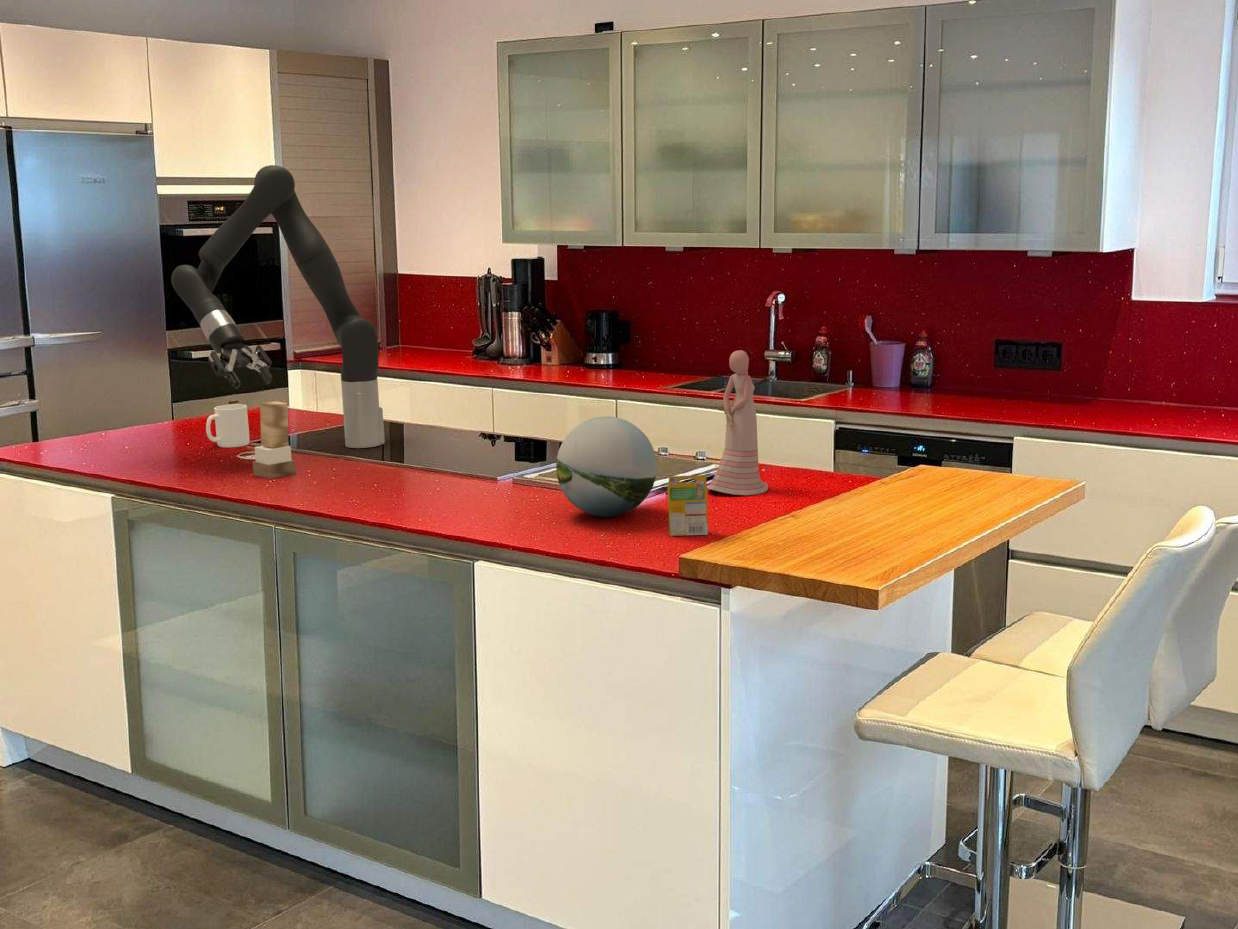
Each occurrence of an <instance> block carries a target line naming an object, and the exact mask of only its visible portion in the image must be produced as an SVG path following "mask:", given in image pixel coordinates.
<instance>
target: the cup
mask: <svg viewBox="0 0 1238 929" xmlns="http://www.w3.org/2000/svg"><path fill="white" fill-rule="evenodd" d="M213 411H214V412H213V413H214V414H211V415H209V416H208V417H207V420H206V424H205V431H206V436H207V438H208V439H209V441H211V442H214V443H217V446H218V447H220V448H227V449H228V448H230V449H231V448H240V447H246V446H248V445H249V444H250V442H251V441H250V431H249V419H248V418H249V417H248V406H247V405H246V404H238V403H237V404H235V403H234V404H224V405H217V406H215V407H214V408H213ZM213 420H214V424H215V433H216V435H215V436H213V435H212V432H211V424H212V421H213Z"/></svg>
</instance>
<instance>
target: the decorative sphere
mask: <svg viewBox="0 0 1238 929" xmlns="http://www.w3.org/2000/svg"><path fill="white" fill-rule="evenodd" d="M657 463H658V462H657V457H656V452H655V450H654V447H653V445H652V443H651V441H650V439H649V438H648V437H647V435H646V434H645V433H644V432H643V431H642V430H641V429H640V428H639V427H637V425H635V424H634V423H632V422H630V421H628V420H626V419H623V418H620V417H616V416H598V417H593V418H590V419H588V420H585V421H583V422H581V423H579V424H578V425H577V426H575V427H574V428H573V429H571V431H569V433H567V435H566V436H565V438H564V439H563V440H562V442H561V445H560V447H559V449H558V452H557V457H556V462H555V464H556V465H555V467H556V470H555V471H556V478H557V482H558V484H559V488H560V489H561V491H562V493H563V494H564V497H566V499H567V500H568V501H569V502H570V503H571V504H572V505H573V506H574V507H576V508H577V509H578V510H580V511H581V512H584V513H585V514H588V515H592V516H595V517H600V518H612V517H613V518H614V517H619V516H623V515H625V514H628V513H630V512H632V511H633V510H635V509H636V508H637V507H639V506H640V505H641V504H642V503H643V502H644V501H645V500H646V499H647V497H648V496H649V494H650V493H651V491H652V489H653V487H654V483H655V482H656V477H657V470H658V464H657Z"/></svg>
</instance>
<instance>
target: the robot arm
mask: <svg viewBox="0 0 1238 929" xmlns="http://www.w3.org/2000/svg"><path fill="white" fill-rule="evenodd" d="M295 184H296V182H295V178H294V176H293V175H292V173H291V171H289V170H288V169H286V168H285V167H283V166H280V165H273V164H270V165H265V166H263V167H261V168H260V169H259V170H258V171H257V172H256V174H255V177H254V181H253V187H252V189H251V191H250V192H249V195H247V197H246V198H245V200H244V201H243V203H242V204H240V206H239V207H238V208H237V209H236V210H235V211H234V213H232V214H231V215H230V216H229V217H228V218H227V219H226V220H225V221H224V222H223V223H222V224H221V225H220V226H219V227H218V228H217V229H216V230H215V231H214V233H212V234H211V236H210V237H209V238H208V240H207V241H206V242H205V243H204V244H203V245H202V247H201V248H200V250H199V251H198V256H199V259H200V260H201V261H200V264H199V265H198V267H197V268H196V267H194V266H192V265H189V264H181V265H178V266H177V267H175V269H174V270H173V272H172V274H171V278H170V279H171V280H170V281H171V285H172V287H173V289H174V291H175V292H176V294H177V295H178V296H179V298H180V299H181V300H182V301H183V302H184V303H185V305H186V306H187V307H188V308H189V309H190V311H191V312H192V313H193V316H194V317H195V318H194V319H196V321H197V322H198V324H199V326H200V327H201V330H202V332H203V334H204V336H205V338H206V339H207V341H208V342H209V344H210V346H211V347H212V349H213V350H211V352H210V354H209V356H208V358H207V360H208V362H209V364H210V366H211V368H212V370H213V372H214V374H215V376H216V377H217V378H220V377H224V378H226V379H227V381H228V382H229V384H230V385H231V387H233V388H234V389H235V390H239V389H240V387H241V385H242V382H241V381H240V379H239V377H238V376H237V374H236V372H235V371H233V370H234V369H239V368H248V369H250V370H255V371H257V372H258V373H259V376H260V377H261V378H262V380H263V382H264V383H265V384H266V385H270V384H271V382H272V381H273V375H272V374H271V372H270V370H269V368H270V367H271V365H272V363H273V362H272V360H271V358H270V357H269V356H268V354H267V353H266V351H265V350H264V349H263V347H262V346H261V345H256V347H254V348H251V347H249V346H248V345H247V342H246V339H245V337H244V335H243V334H242V332H241V330H240V329H239V327H238V326H237V324H236V323H235V321H234V320H233V318H232V317H231V315H230V314H229V313H228V312H227V310H226V308H225V307H224V305H223V304H222V302H221V301H220V299H219V298H218V297H217V296H216V295H215V294H213V293H212V292H213V291H214V289H215V287H216V285H217V283H218V281H219V279H220V277H221V275H222V273H223V270H224V269H225V267H226V266H227V265H229V263H230V262H231V260H232V259H233V258H234V257H235V256H236V255H237V253H238V252H239V251H240V249H241V248H242V247H243V246H244V244H245V243H246V242H247V241H248V239H249V238H250V237H251V235H252V234H253V233H254V232H255V231H256V229H257V228H258V227H259V226H260V224H262V223H263V222H264V221H265V220H266V219H267V218H268V217H269V216H270V215H271V216H272V217H273V218H274V220H275V222H276V223H277V225H278V227H279V230H280V231H281V234H282V237H283V240H284V241H285V244H286V246H287V248H288V250H289V253H290V254H291V257H292V258H293V260H294V262H295V264H296V267H297V268H298V270H299V273H300V274H301V276H302V277H303V279H304V281H305V282H306V284H307V286H308V287H309V289H310V290H311V291H310V292H312V294H313V295H314V297H315V299H317V301H318V303H319V304H320V305H321V308H322V309H323V311H324V313H325V316H326V318H327V320H328V322H329V324H330V327H331V329H332V332H333V334H334V337H335V339H336V342H337V343H338V345H339V346H340V348H341V357H342V366H341V369H340V381H341V397H342V412H343V425H344V428H343V429H344V441H345V443H344V444H345V447H346V448H352V449H365V448H374V447H377V446H378V447H379V446H381V445H385V442H386V440H385V428H384V424H385V423H384V410H383V408H382V407H380V399H379V398H380V396H379V384H378V383H379V382H378V369H379V341H378V340H379V339H378V334H377V329H376V327H375V326H374V324H373V323H372V322H371V321H369V320H368V319H365V318H363V316H361V314H360V312H359V311H358V309H357V308H356V307H355V304H354V302H353V301H352V300H351V298H350V295H349V294H348V292H347V289H346V285H345V282H344V278H343V273H342V272H341V270H340V266H339V263H338V262H337V260H336V258H335V256H334V254H333V253H332V252H333V251H332V250H331V248H330V247H329V244H328V243H327V241H326V240H325V238H324V237H323V236H322V234H321V233H320V231H319V230H318V229H317V226H315V225H314V223H313V222H312V221H311V219H310V218H309V217H308V215H307V214H306V212H305V211H304V208H303V206H302V204H301V202H300V200H299V198H298V196H297V193H296V191H295V187H296V185H295ZM251 360H252V363H251ZM222 362H223V363H225V367H224V364H223V363H222Z"/></svg>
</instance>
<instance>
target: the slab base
mask: <svg viewBox="0 0 1238 929" xmlns="http://www.w3.org/2000/svg"><path fill="white" fill-rule="evenodd" d="M296 469H297V468H296V461H295V459H292V461H288V462H283V463H278V464H272V465H267V464H262V463H258V462H256V460H254V461H252V473H253V476H254V475H255V477H258V478H259V477H260V478H264V479H268V480H272V479H278V478H281V477H282V478H283V477H287V476H293V475H296V474H297V470H296Z"/></svg>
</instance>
